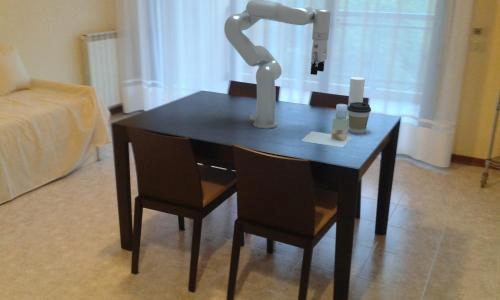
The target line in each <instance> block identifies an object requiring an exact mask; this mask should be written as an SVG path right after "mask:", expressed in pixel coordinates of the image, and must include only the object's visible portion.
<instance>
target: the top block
mask: <svg viewBox="0 0 500 300" xmlns="http://www.w3.org/2000/svg"><path fill="white" fill-rule="evenodd" d="M348 122H349V117H346V119H337V118H336V115H335V116H334V117H333V118H332V124H331V130H332V129H337V130H343V131H345V130H346V129H347V128H348V129H349V127H348Z"/></svg>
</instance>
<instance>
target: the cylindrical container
mask: <svg viewBox="0 0 500 300" xmlns="http://www.w3.org/2000/svg"><path fill="white" fill-rule="evenodd" d="M365 80H366V78H365V77H361V76H351V77H350V81H349V92H348V103H347V107H348V106H350V104H351V103H354V102H362V103H364V102H363V101H364V93H365V82H366V81H365ZM347 117H349V110H348V109H347ZM348 128H349V122H348Z"/></svg>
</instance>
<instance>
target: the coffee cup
mask: <svg viewBox="0 0 500 300" xmlns="http://www.w3.org/2000/svg"><path fill="white" fill-rule="evenodd" d="M348 110H349V127H348V130H349V131H348V132H350V133H353V134H364V133H366V129H367V126H368V121H369V118H370V113H371V112H372V108H371V106H370V104H368V103H366V102H363V103H362V102H354V103H351V104H350V106H348V105H347V111H348Z"/></svg>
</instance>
